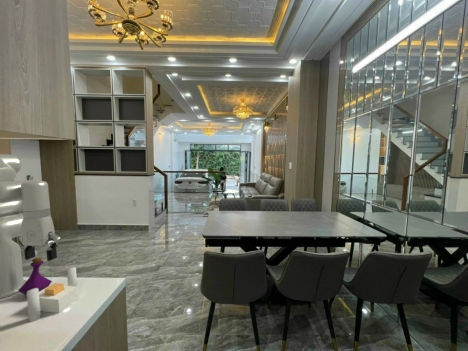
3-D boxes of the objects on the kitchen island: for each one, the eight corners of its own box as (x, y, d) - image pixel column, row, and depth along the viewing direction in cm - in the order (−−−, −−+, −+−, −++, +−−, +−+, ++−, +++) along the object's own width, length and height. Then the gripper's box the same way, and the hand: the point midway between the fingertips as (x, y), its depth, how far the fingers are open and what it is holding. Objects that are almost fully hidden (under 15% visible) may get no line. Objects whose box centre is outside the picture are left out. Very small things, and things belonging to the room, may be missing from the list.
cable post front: (26, 321, 74) (24, 293, 74) (35, 314, 77) (33, 287, 77) (34, 322, 74) (31, 293, 73) (43, 315, 77) (40, 288, 76)
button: (45, 299, 81) (44, 289, 81) (55, 293, 85) (54, 283, 85) (54, 300, 81) (53, 290, 80) (64, 293, 85) (63, 283, 84)
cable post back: (66, 294, 89) (64, 270, 89) (73, 290, 92) (71, 267, 91) (73, 294, 89) (71, 271, 88) (79, 290, 92) (77, 267, 91)
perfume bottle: (52, 288, 94) (49, 247, 92) (35, 299, 86) (31, 255, 85) (37, 287, 94) (33, 247, 93) (18, 298, 87) (14, 254, 86)
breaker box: (31, 309, 80) (30, 296, 80) (52, 296, 88) (51, 284, 88) (59, 312, 78) (58, 299, 78) (78, 298, 86) (77, 286, 86)
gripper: (6, 216, 79) (10, 262, 80) (46, 217, 76) (51, 264, 77) (28, 211, 86) (32, 253, 88) (66, 212, 84) (70, 255, 85)
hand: (41, 258), depth 83 cm, fingers open, 9 cm apart
